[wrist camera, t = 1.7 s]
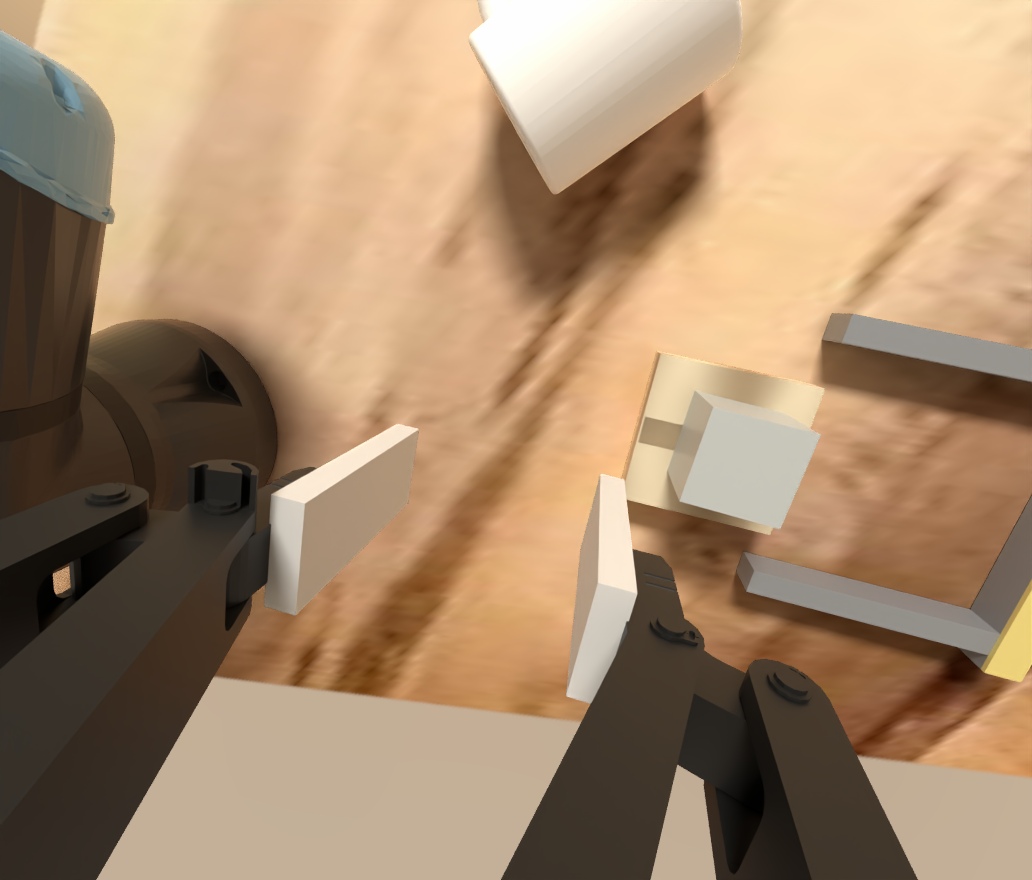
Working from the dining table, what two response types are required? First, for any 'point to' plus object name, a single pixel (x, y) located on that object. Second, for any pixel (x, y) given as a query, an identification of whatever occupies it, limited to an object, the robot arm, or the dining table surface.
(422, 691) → the dining table surface
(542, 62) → the mug
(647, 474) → the pallet
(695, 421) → the light grey cube
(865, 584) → the dock
